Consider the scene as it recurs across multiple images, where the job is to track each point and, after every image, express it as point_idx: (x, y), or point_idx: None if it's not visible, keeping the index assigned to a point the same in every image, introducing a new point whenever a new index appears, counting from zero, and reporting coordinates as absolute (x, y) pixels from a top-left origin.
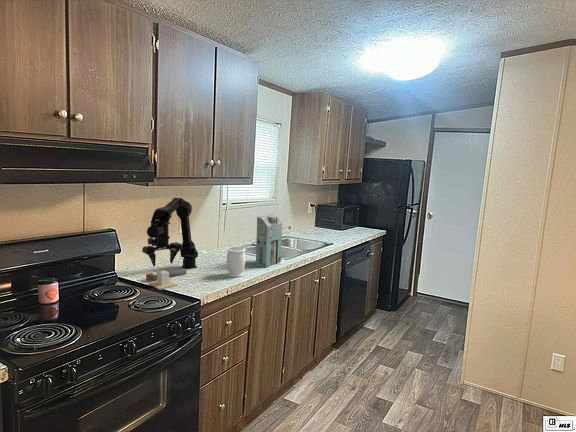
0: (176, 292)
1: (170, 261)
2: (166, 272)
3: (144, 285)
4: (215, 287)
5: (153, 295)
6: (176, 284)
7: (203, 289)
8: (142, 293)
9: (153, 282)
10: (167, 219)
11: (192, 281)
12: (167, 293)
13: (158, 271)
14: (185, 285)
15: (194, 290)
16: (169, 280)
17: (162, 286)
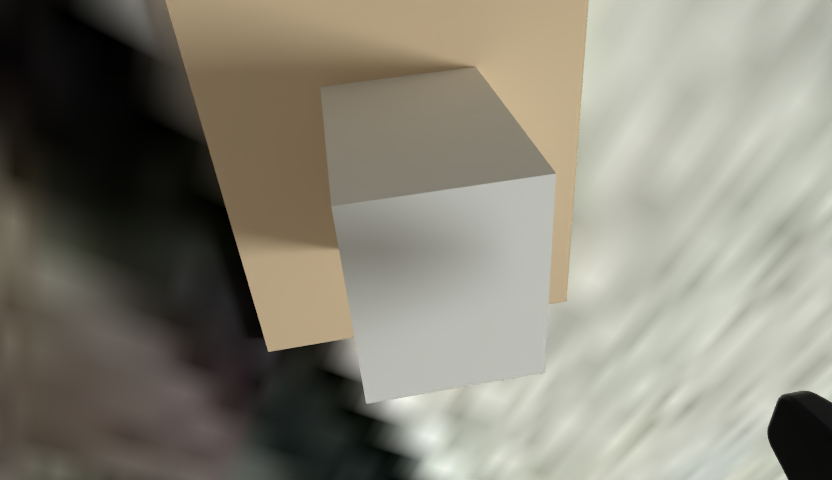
0: (423, 467)
1: (821, 451)
2: (500, 352)
3: (60, 24)
4: None
5: (147, 472)
6: (553, 289)
7: (689, 473)
8: (3, 379)
9: (263, 12)
10: None
11: (824, 206)
12: (322, 465)
13: (370, 215)
14: (642, 313)
15: (606, 471)
16: (582, 47)
17: (341, 290)
